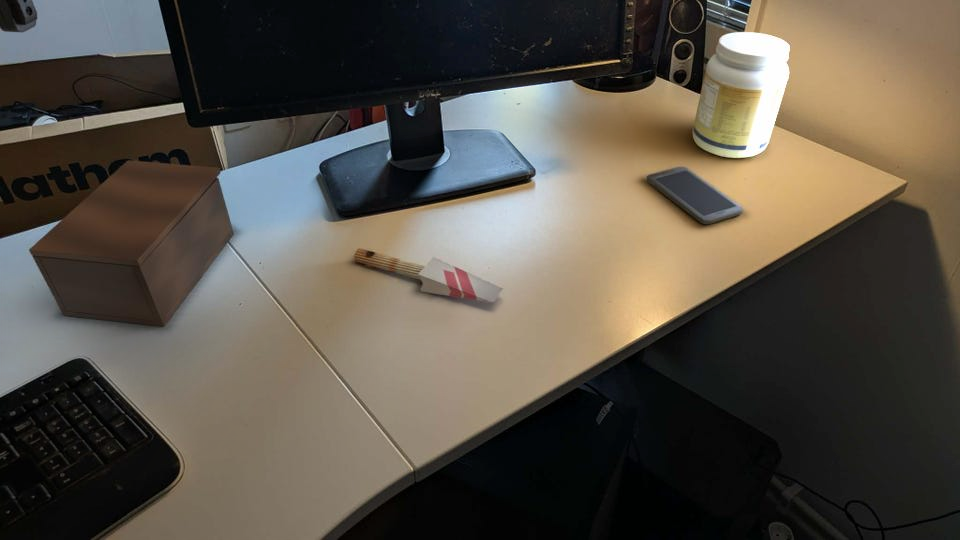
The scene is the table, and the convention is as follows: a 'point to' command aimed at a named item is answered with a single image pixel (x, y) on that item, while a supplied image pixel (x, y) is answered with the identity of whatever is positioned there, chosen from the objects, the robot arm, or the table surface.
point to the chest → (144, 270)
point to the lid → (127, 213)
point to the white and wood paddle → (434, 276)
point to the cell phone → (694, 195)
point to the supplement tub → (741, 94)
